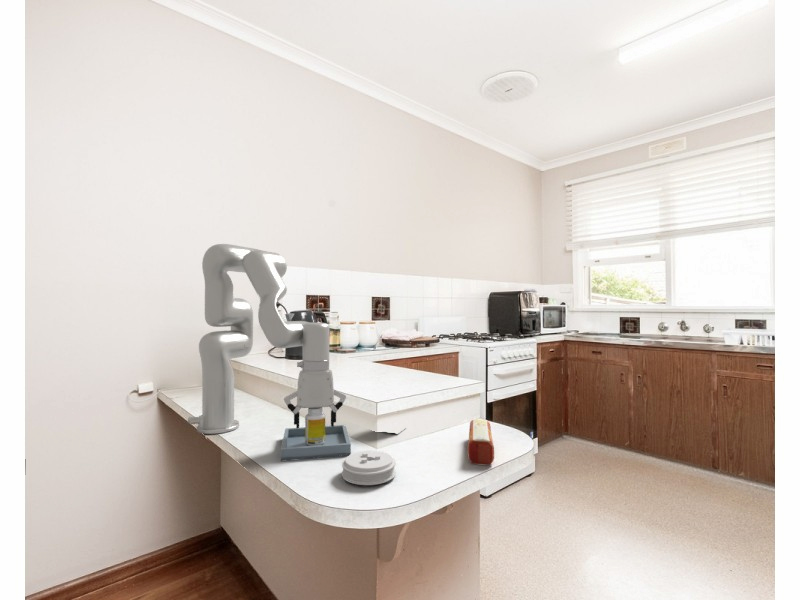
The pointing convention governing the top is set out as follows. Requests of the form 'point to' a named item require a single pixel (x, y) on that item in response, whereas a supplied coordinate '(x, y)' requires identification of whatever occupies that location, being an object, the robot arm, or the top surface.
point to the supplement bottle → (315, 427)
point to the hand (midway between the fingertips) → (315, 425)
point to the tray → (333, 445)
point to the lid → (368, 468)
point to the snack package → (480, 442)
